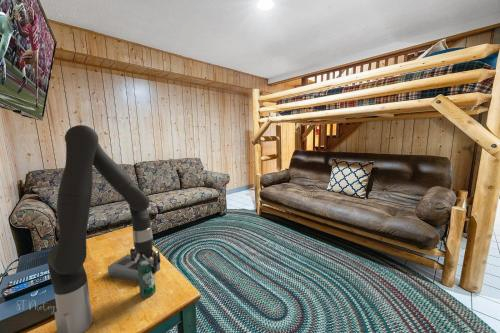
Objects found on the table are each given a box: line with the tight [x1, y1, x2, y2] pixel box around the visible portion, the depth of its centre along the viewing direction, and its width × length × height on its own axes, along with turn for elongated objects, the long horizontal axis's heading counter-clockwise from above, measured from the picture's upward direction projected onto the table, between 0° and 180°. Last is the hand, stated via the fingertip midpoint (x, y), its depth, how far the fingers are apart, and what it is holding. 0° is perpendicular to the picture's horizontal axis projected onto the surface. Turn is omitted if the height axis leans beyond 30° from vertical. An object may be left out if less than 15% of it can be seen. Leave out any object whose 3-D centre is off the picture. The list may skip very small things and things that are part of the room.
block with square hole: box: [107, 253, 161, 284], centre depth 110 cm, size 12×22×5 cm, turn 72°
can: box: [137, 258, 157, 299], centre depth 95 cm, size 6×6×15 cm
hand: (146, 271), depth 94 cm, fingers open, 8 cm apart
